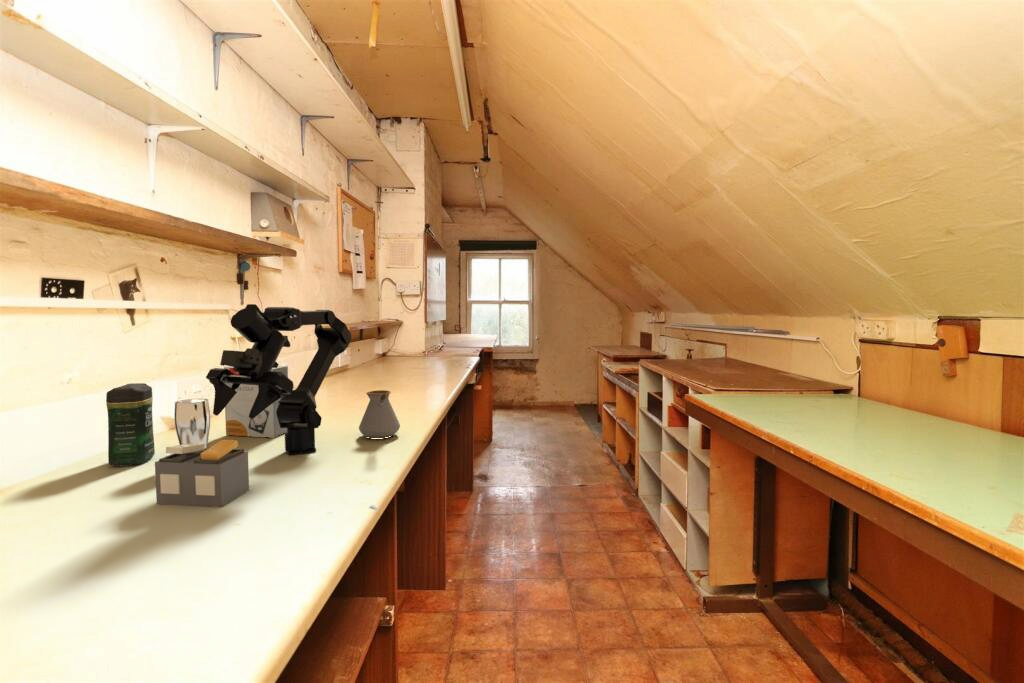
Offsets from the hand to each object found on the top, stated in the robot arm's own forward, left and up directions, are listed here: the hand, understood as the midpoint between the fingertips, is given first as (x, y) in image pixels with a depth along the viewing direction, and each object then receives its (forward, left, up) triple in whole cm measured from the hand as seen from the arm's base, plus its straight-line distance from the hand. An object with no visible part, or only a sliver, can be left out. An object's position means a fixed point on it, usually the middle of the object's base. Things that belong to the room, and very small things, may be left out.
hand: (232, 416), depth 102 cm
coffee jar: (+21, -26, -14) cm, 36 cm away
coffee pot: (-35, -16, -14) cm, 41 cm away
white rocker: (+8, +6, -4) cm, 11 cm away
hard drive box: (-6, -40, -14) cm, 43 cm away
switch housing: (+5, +8, -14) cm, 17 cm away
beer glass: (+8, -16, -14) cm, 23 cm away
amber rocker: (+2, +10, -4) cm, 11 cm away
